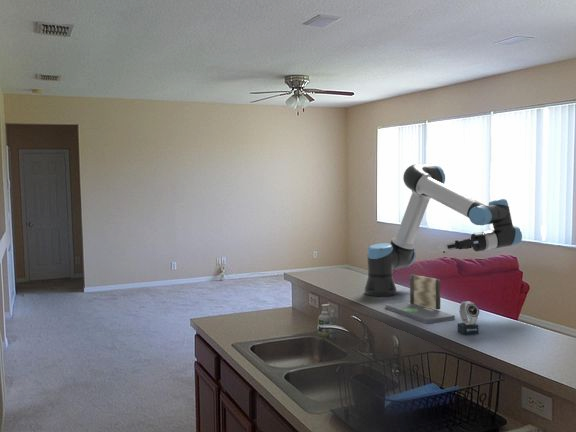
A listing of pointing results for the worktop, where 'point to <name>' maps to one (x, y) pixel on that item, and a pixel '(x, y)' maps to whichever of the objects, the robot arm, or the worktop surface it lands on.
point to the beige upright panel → (425, 291)
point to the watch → (472, 313)
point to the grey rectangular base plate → (420, 312)
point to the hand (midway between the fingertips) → (433, 249)
